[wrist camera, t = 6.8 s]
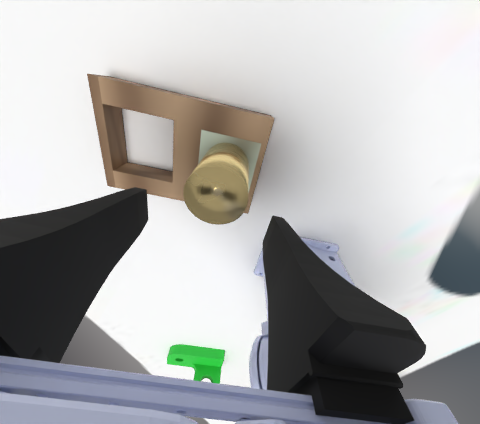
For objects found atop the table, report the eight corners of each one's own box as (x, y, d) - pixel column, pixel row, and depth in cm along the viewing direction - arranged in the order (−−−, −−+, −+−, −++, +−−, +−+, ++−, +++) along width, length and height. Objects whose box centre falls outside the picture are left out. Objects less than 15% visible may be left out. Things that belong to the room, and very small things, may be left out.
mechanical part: (224, 349, 42) (220, 398, 35) (221, 360, 45) (216, 407, 38) (170, 341, 41) (154, 391, 34) (170, 353, 44) (156, 400, 37)
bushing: (253, 148, 16) (254, 174, 11) (243, 190, 18) (241, 229, 13) (206, 137, 15) (184, 160, 10) (201, 182, 18) (182, 218, 13)
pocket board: (271, 115, 17) (274, 118, 15) (247, 201, 21) (248, 214, 19) (108, 76, 16) (86, 73, 13) (122, 176, 20) (106, 186, 18)
